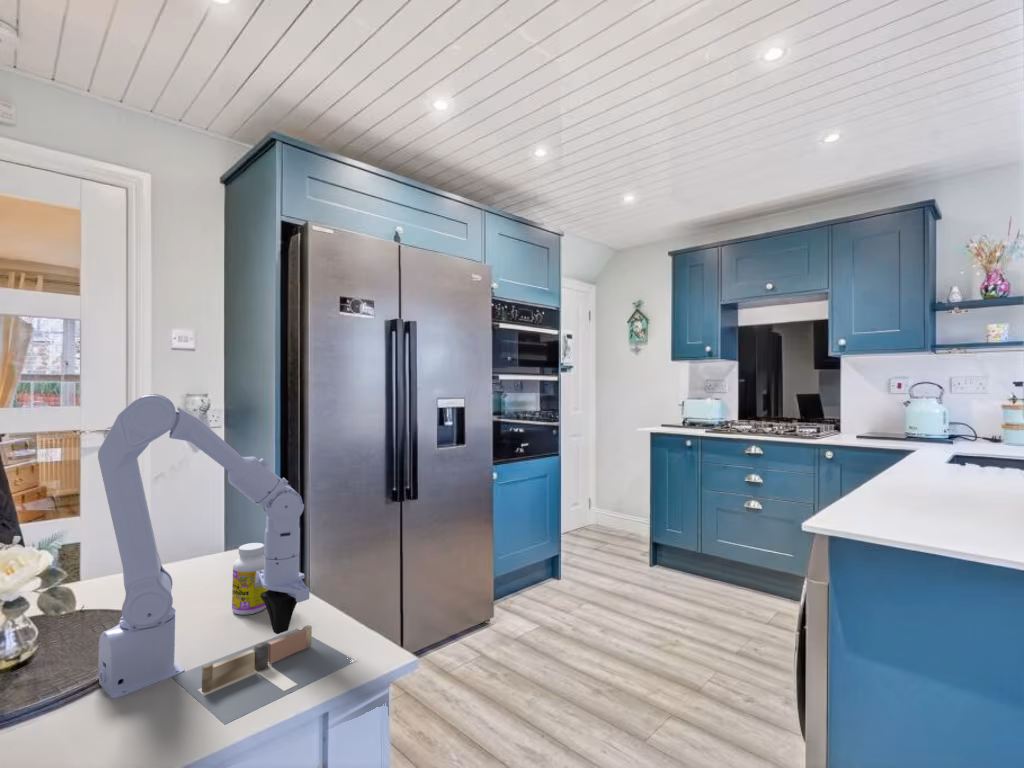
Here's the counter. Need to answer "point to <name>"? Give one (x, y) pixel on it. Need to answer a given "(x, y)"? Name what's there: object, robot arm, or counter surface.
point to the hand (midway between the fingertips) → (280, 631)
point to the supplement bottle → (248, 580)
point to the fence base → (234, 667)
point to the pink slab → (289, 644)
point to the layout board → (264, 680)
